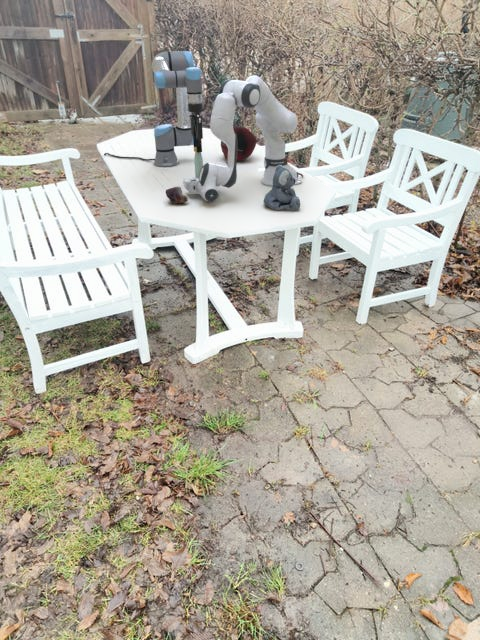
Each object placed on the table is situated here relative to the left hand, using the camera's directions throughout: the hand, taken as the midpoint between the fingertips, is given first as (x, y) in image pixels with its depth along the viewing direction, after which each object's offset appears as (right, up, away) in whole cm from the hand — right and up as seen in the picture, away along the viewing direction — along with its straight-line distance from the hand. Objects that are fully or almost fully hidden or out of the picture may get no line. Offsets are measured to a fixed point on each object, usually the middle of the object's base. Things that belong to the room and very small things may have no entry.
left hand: (197, 150), depth 239 cm
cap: (0, +1, -1) cm, 1 cm away
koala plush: (+43, -32, -10) cm, 55 cm away
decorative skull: (+21, +19, +64) cm, 70 cm away
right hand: (0, -12, +9) cm, 15 cm away
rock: (-11, -29, -5) cm, 31 cm away
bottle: (0, -17, +12) cm, 21 cm away
